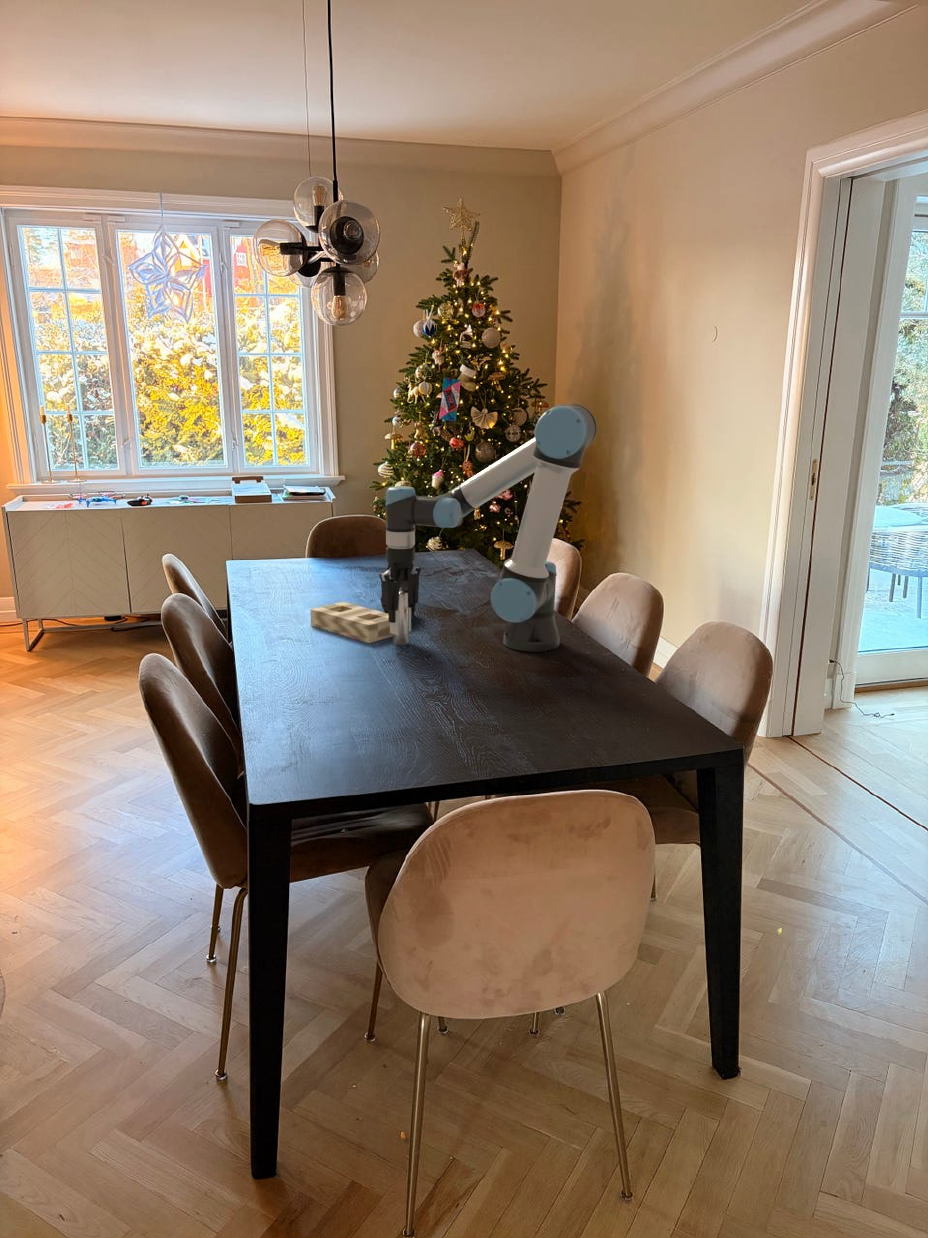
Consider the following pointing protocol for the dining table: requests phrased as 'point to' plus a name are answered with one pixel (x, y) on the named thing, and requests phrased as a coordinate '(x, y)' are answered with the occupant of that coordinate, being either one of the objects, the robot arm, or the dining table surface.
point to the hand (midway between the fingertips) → (400, 631)
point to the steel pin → (402, 619)
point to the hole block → (352, 621)
